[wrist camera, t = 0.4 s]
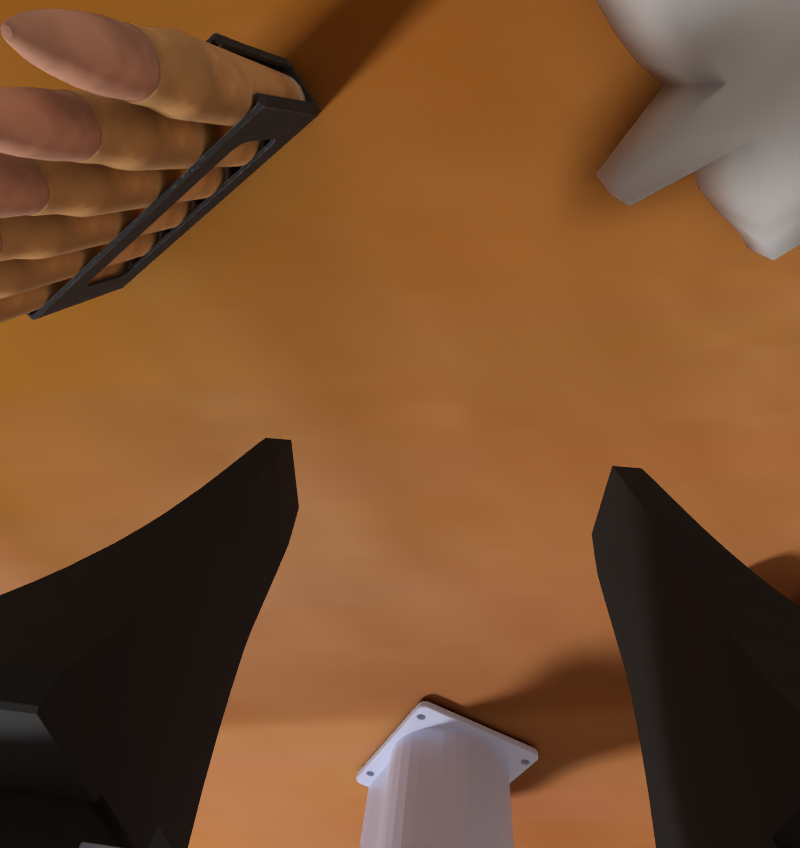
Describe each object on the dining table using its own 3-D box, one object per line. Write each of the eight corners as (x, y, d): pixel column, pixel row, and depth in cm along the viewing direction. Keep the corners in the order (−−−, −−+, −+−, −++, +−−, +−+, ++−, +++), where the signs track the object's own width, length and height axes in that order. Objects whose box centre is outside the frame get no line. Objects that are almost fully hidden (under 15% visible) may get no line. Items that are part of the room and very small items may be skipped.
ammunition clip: (287, 57, 17) (-13, -100, 6) (322, 111, 18) (101, 49, 7) (86, 249, 21) (-315, 350, 10) (121, 289, 21) (-223, 424, 11)
